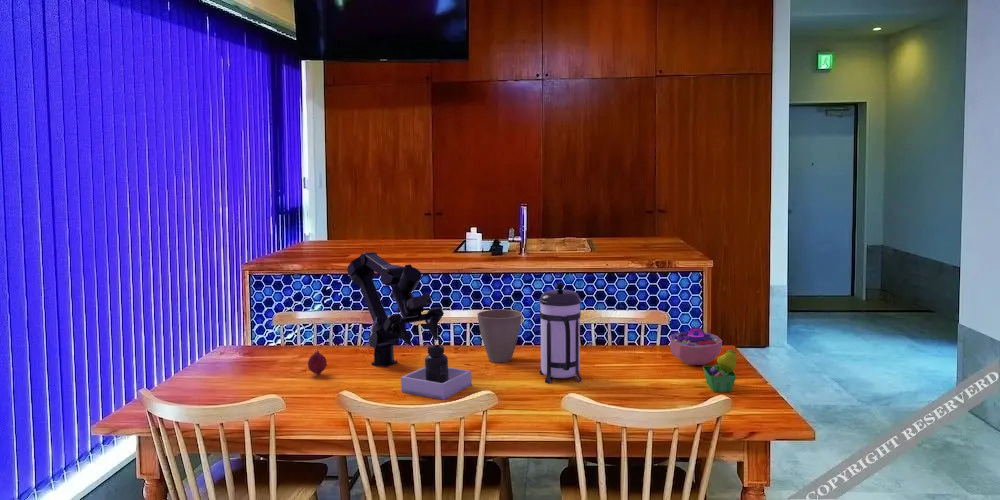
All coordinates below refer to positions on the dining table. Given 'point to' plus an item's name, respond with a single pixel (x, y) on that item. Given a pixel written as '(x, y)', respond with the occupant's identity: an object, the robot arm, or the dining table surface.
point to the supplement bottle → (436, 364)
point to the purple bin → (436, 383)
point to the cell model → (695, 346)
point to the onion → (317, 363)
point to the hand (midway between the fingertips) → (424, 342)
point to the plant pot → (499, 333)
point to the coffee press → (560, 334)
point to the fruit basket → (722, 373)
